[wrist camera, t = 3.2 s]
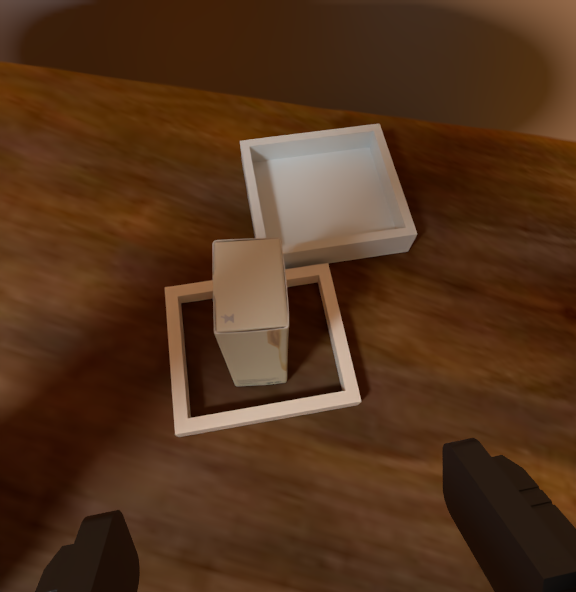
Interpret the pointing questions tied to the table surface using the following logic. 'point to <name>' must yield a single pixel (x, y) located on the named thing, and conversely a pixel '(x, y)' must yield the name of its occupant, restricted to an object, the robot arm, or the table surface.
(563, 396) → the table surface
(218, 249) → the skincare box
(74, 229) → the table surface
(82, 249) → the table surface
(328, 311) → the holder
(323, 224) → the tray
